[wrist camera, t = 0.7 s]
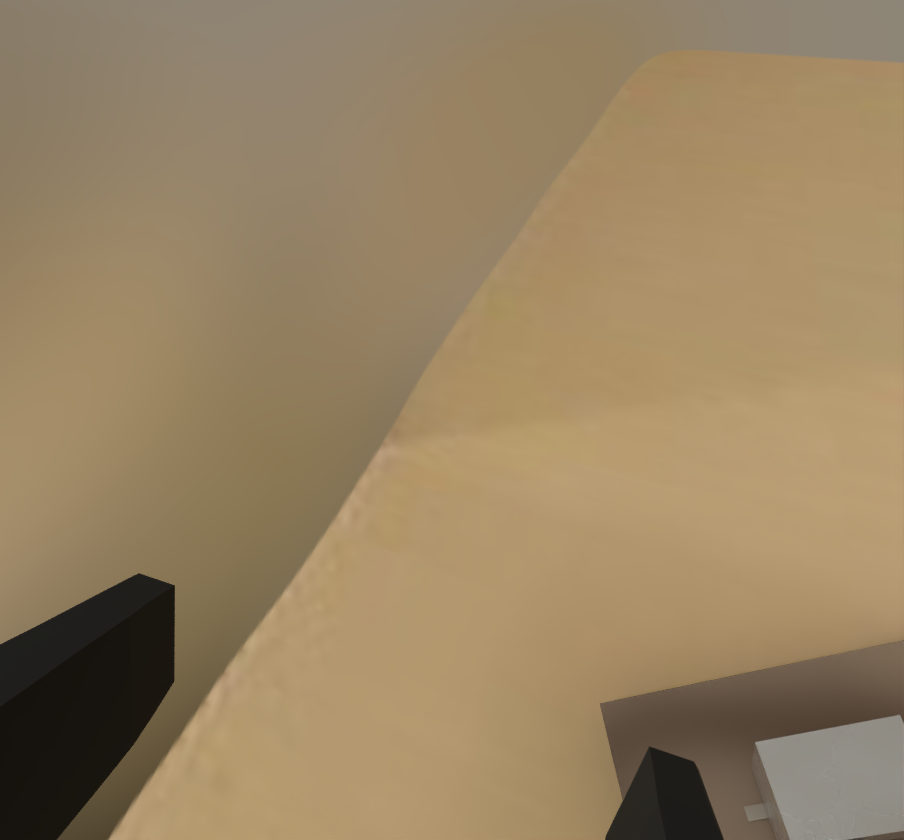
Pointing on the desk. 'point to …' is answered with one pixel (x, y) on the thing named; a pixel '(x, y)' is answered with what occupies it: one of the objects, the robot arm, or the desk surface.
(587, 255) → the desk surface
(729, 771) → the console board
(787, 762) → the fader tab
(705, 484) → the desk surface
